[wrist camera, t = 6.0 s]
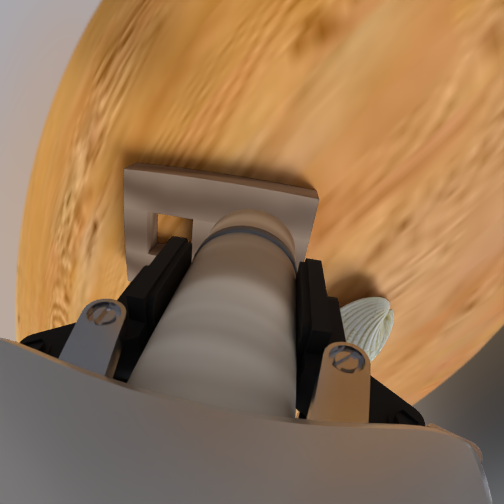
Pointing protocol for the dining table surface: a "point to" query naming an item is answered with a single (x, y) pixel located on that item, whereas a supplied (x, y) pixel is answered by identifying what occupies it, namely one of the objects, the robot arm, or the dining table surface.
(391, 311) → the seashell
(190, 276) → the grey domed cylinder
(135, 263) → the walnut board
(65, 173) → the dining table surface
